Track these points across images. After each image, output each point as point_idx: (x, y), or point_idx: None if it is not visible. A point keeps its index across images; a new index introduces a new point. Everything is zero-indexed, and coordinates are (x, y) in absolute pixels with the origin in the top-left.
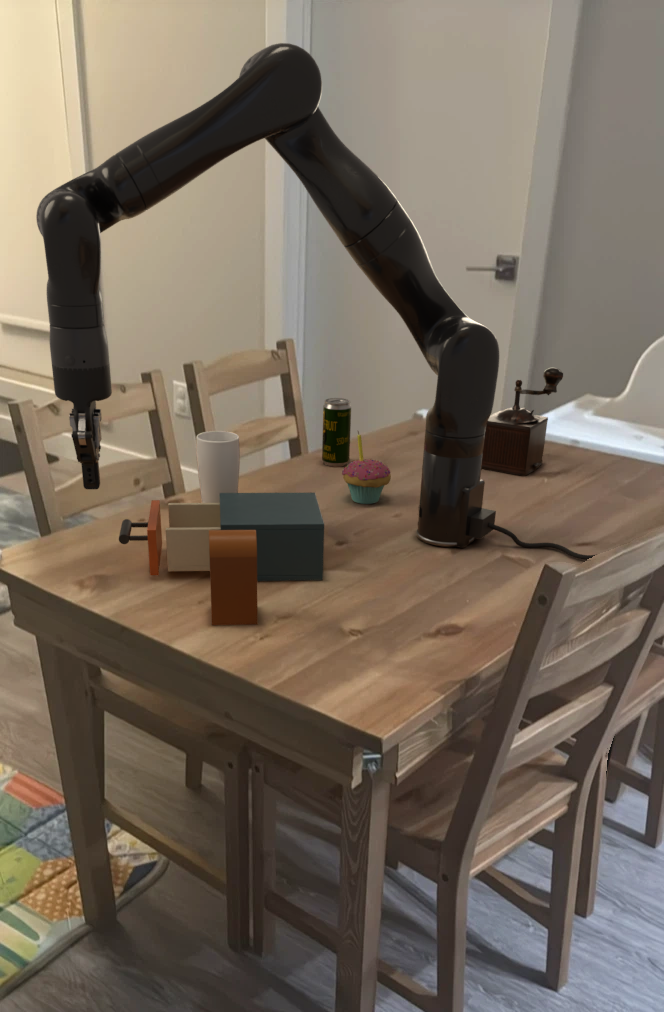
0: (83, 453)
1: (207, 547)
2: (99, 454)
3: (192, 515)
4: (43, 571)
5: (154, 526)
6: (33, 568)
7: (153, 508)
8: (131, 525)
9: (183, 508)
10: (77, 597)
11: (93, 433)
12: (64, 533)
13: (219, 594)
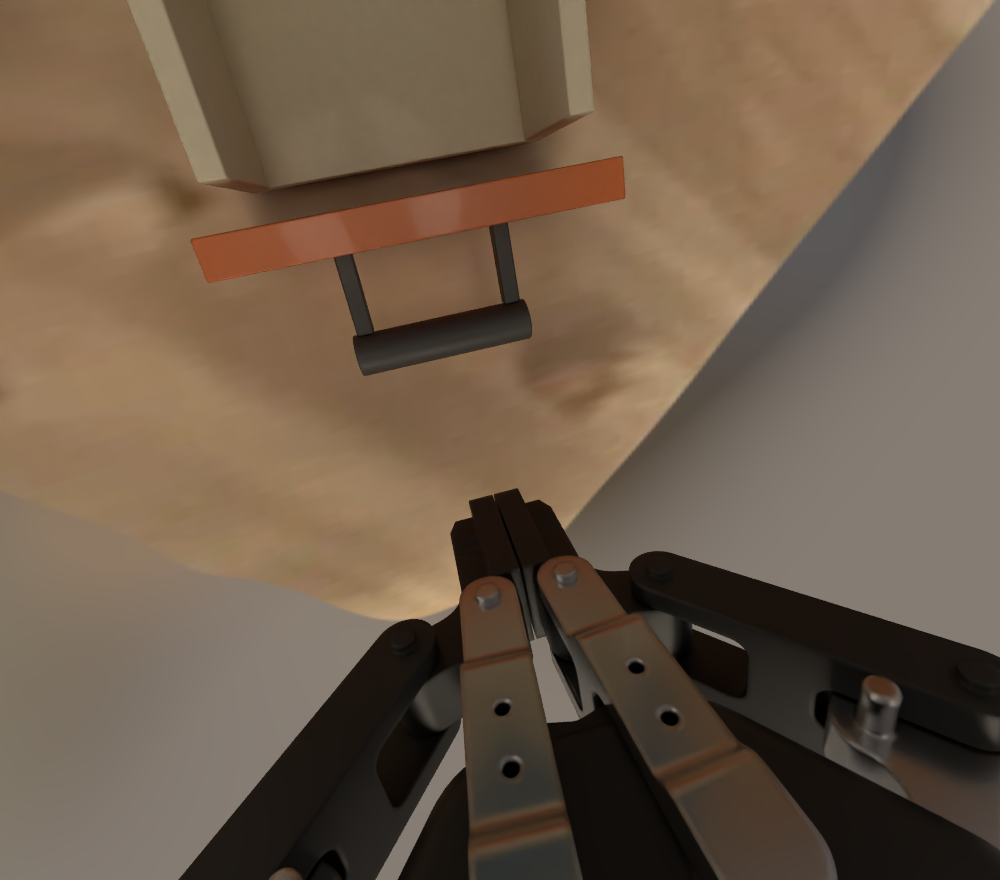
0: (677, 649)
1: None
2: (494, 594)
3: (193, 39)
4: None
5: (579, 173)
6: None
7: (332, 240)
8: (383, 331)
9: (200, 85)
10: (667, 379)
11: (723, 721)
12: (230, 572)
13: None
